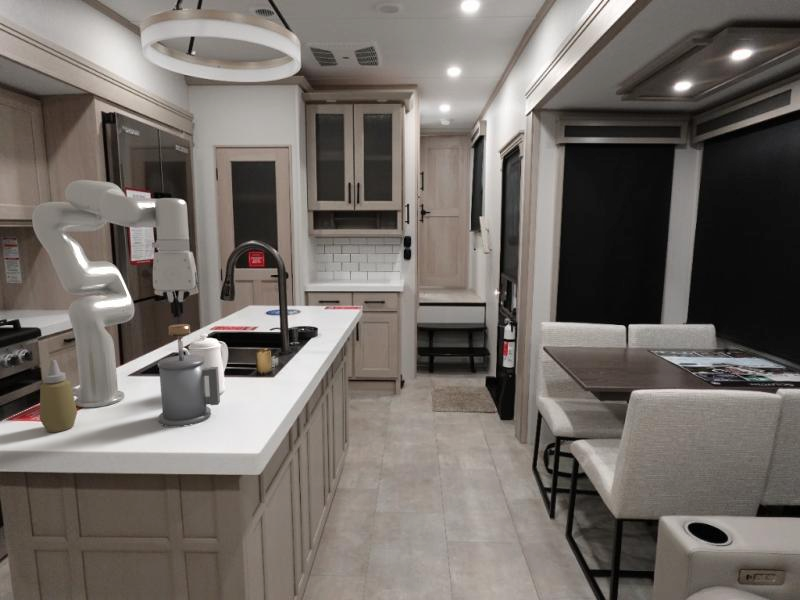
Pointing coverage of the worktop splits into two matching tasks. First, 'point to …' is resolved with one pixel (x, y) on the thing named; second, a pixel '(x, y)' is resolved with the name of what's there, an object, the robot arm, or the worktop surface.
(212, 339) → the coffeepot
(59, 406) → the squeeze bottle
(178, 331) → the plunger
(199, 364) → the press carafe
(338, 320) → the worktop surface
